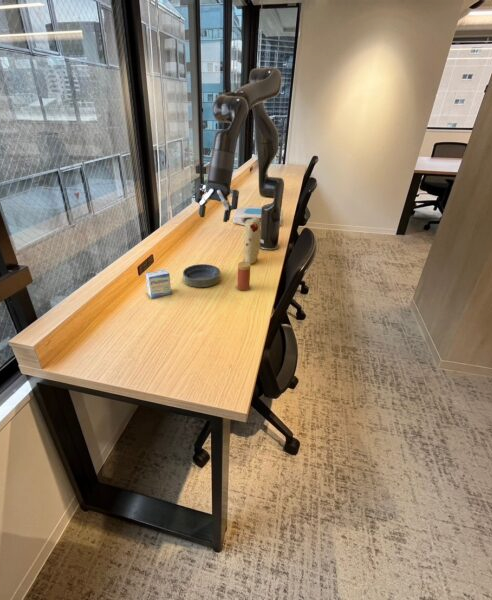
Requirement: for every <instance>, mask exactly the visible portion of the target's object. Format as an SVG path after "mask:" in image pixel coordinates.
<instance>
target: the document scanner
mask: <svg viewBox="0 0 492 600" xmlns="http://www.w3.org/2000/svg"><path fill="white" fill-rule="evenodd" d="M261 208H262V206H243V207H237V209H235V211H234V214H233V216H232V223H234V224H238V225H241V226H245V225H246V220H247V219H251V218H254V217H257V218H259V219H261ZM283 214H284V210H283V209H281V216H280V226H282V223H283V216H284V215H283ZM260 226H261V222H260Z"/></svg>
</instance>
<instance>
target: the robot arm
mask: <svg viewBox="0 0 492 600" xmlns="http://www.w3.org/2000/svg"><path fill="white" fill-rule="evenodd" d="M282 79H283V78H282V72H281V70H280V69H279V68H277V67H259V68H252V69H251V70H250V73H249V77H248V83H247V84H244V85H242V86H240V87H239V88H238V89H236V90H233V91H229V92H225V93H222V94H220V95H218V96H217V97H216V98H215V99H214V101H213V104H212V115H213V117H214V119H215V120H216V121H217V122H220V123H226V124H229V125H228V127H227V128H225V129H220V130H217V131H216V132H215V134H214V140H213V145H212V153H211V156H210V161H209V167H208V175H207V183H206V184H203V183H198V184H197V188H196V192H195V197H194V202H195V203H197V204H198V205H199V209H198V215H199V217H200V218H205V215H206V208H207V207H206V205H207V204H208V203H209V202H210V201H217V202H221V203H222V205H223V206H224V209H225V210H224V213H223V219H222V222H224V223H228V221H230V217H231V214H232V213H231V212H232V211H233V210H235V211H236V210H237V209H238V206H239V205H238V204H239V197H240V190H238V189H231V185H232V179H233V173H234V168H235V159H236V158H235V156H236V151H237V145H238V144H237V143H238V140H239V138H240V137H239V136H240V135H241V132H242V129H243V127H244V125H245V122H246V120H247V118H248V113H249V111H251V110H252V114H253V123H254V124H253V125H254V135H255V136H254V138H255V148H256V155H257V165H258V166H257V167H258V191H259V192H258V194H259V196H260V197H262V198H263V199H273V201H272V202H271V203H268V204H264V205H263V206H261V207H262V208H261V218H260V223H261V226H260V246H259V249H261V250H263V251H264V250H265V251H274V250H277V249H278V248H279V241H280V240H279V239H280V228H281V227H280V226H281V225H280V216H281V210H282V206H283V198H284V192H285V191H284V190H285V181H284V178H282V177H278V176H277V177H275V176H269V173H268V172H269V168H270V166H271V164H272V162H273V161H274V160H275V158H276V156H277V154H278V152H279V148H280V141H279V131H278V128H277V126H276V125H275V123H274V121H273V120H272V118H271V116H270V115H269V114H268V112H267V110H266V107H265V103H264V102H265V101H267V100H270V99H273V98H276V97H277V96H279V94H280V92H281V88H282V85H283V84H282V83H283V80H282ZM205 191H206V194H204V192H205ZM203 194H204V196H203ZM229 195H230V196H231V202H230V200H229V198H228V196H229Z"/></svg>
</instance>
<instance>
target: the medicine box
mask: <svg viewBox="0 0 492 600" xmlns="http://www.w3.org/2000/svg"><path fill="white" fill-rule="evenodd" d="M144 275H145V282H146V288H147V295H148V296H149V297H150V299H156V298H160V297H165V296H167V295H171V294H172V286H171V277H170V276H171V275H170V272H169V271H168V270H167V269H160V270H156V271H151V272H146V273H144Z"/></svg>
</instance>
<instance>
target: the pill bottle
mask: <svg viewBox="0 0 492 600" xmlns="http://www.w3.org/2000/svg"><path fill="white" fill-rule="evenodd" d="M251 265H252V264H250V263H248V262H245V261H240V262H238V263H237V289H238V290H239V291H242V292H245V291H249V290H250V286H251V285H250V282H251Z"/></svg>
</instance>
